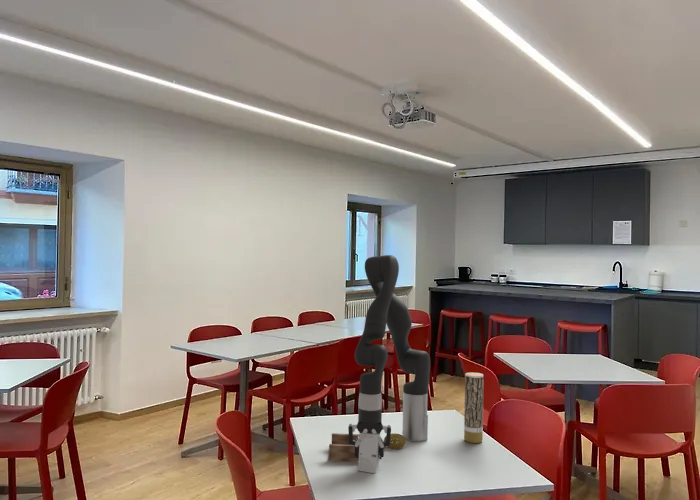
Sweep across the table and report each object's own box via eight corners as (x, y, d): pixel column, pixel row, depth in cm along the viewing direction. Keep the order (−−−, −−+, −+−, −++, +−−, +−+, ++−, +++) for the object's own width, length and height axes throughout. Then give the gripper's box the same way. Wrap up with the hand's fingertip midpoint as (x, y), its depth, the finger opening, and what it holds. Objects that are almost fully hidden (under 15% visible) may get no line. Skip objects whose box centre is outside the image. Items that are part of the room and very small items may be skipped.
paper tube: (462, 442, 196) (463, 375, 196) (465, 436, 202) (466, 371, 203) (481, 445, 193) (482, 377, 194) (483, 439, 200) (484, 373, 200)
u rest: (368, 449, 187) (368, 434, 187) (367, 462, 175) (368, 446, 175) (331, 447, 187) (332, 433, 187) (328, 460, 175) (329, 445, 175)
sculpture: (410, 435, 190) (397, 440, 185) (410, 446, 190) (396, 452, 185) (393, 430, 196) (379, 435, 190) (392, 441, 196) (379, 446, 190)
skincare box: (357, 471, 167) (358, 433, 168) (361, 465, 172) (362, 428, 172) (376, 473, 166) (377, 435, 166) (379, 468, 170) (380, 431, 170)
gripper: (392, 403, 172) (391, 454, 172) (348, 402, 173) (347, 452, 173) (392, 410, 165) (391, 463, 165) (347, 408, 166) (346, 461, 165)
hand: (369, 457), depth 169 cm, fingers closed on skincare box, 6 cm apart
